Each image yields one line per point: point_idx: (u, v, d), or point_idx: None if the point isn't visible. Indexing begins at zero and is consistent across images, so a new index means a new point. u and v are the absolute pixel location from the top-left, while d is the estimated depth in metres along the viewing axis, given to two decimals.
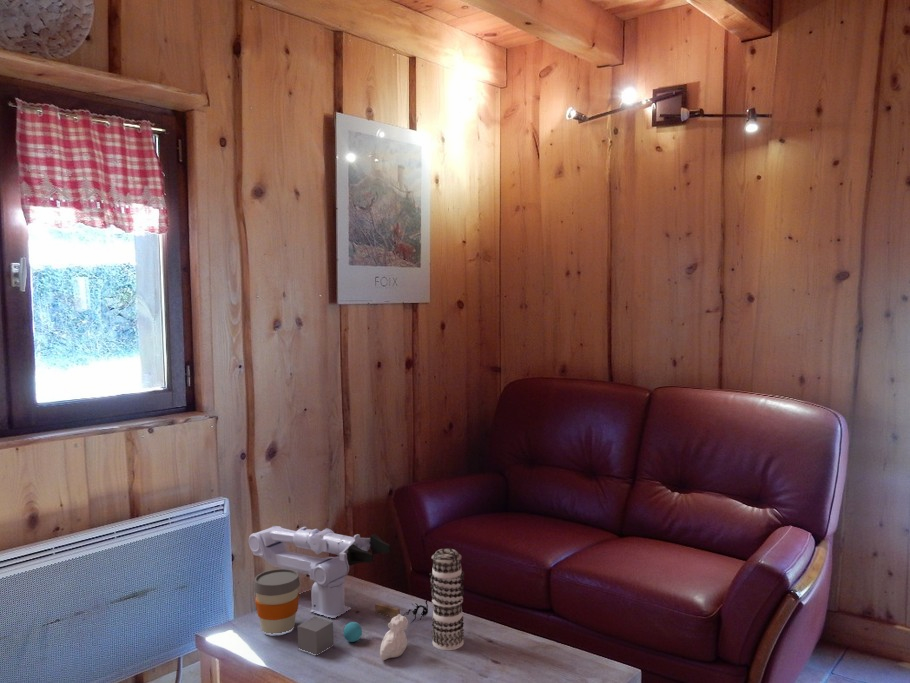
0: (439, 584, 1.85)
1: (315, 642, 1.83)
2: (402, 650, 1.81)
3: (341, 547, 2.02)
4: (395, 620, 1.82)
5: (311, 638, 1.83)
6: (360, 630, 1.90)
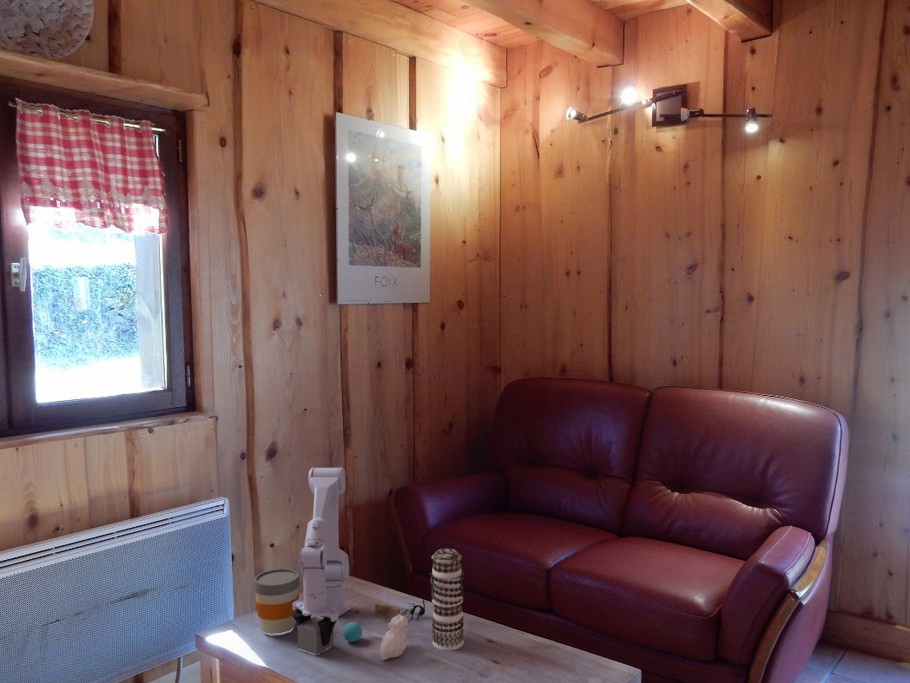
0: (439, 584, 1.85)
1: (315, 642, 1.83)
2: (402, 650, 1.81)
3: None
4: (395, 620, 1.82)
5: (311, 638, 1.83)
6: (360, 630, 1.90)
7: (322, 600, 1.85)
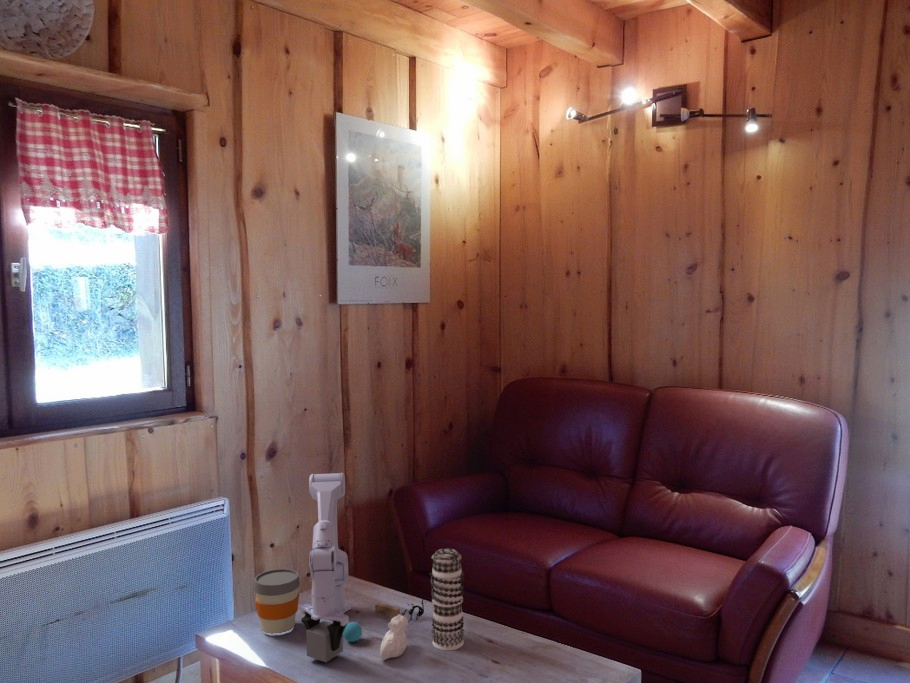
0: (439, 584, 1.85)
1: (324, 647, 1.77)
2: (402, 650, 1.81)
3: None
4: (395, 620, 1.82)
5: (320, 643, 1.78)
6: (360, 630, 1.90)
7: (331, 604, 1.79)
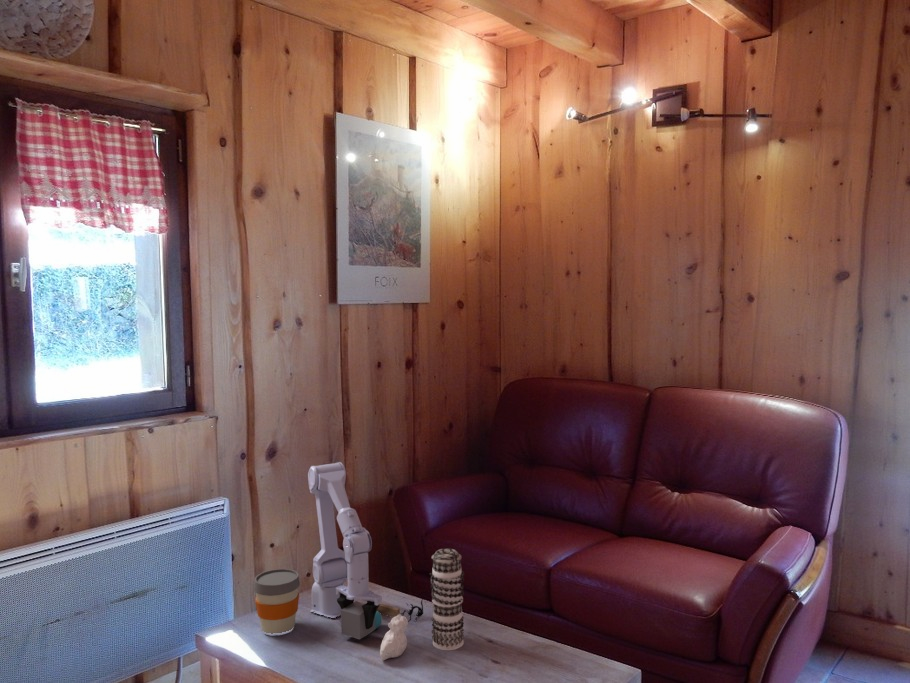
0: (439, 584, 1.85)
1: (358, 625, 1.88)
2: (402, 650, 1.81)
3: None
4: (395, 620, 1.82)
5: (354, 622, 1.89)
6: (377, 624, 1.96)
7: (365, 585, 1.91)
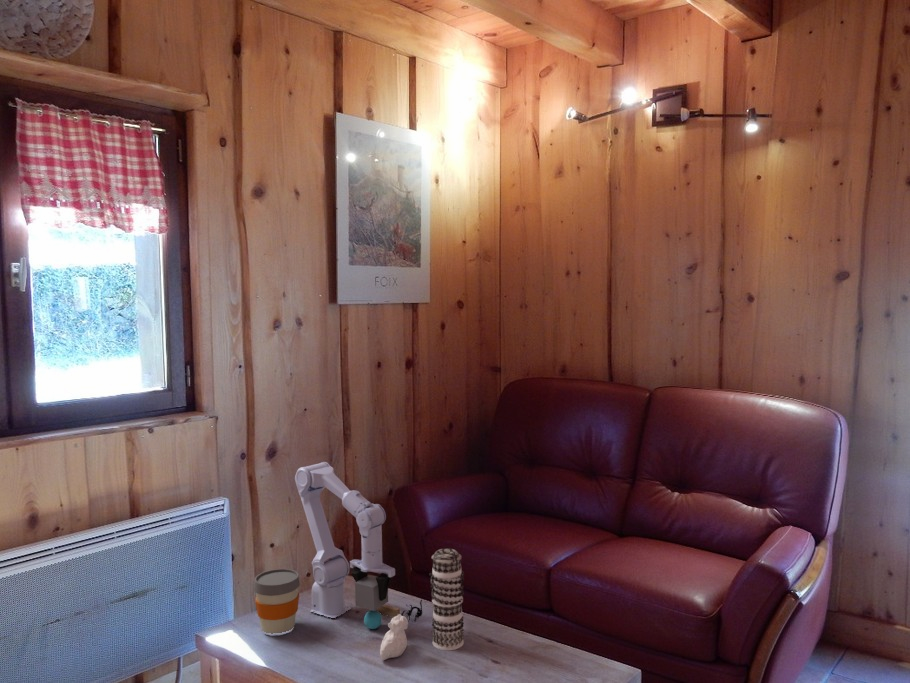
0: (439, 584, 1.85)
1: (372, 597, 1.93)
2: (402, 650, 1.81)
3: None
4: (395, 620, 1.82)
5: (368, 594, 1.94)
6: (377, 624, 1.96)
7: (379, 558, 1.96)
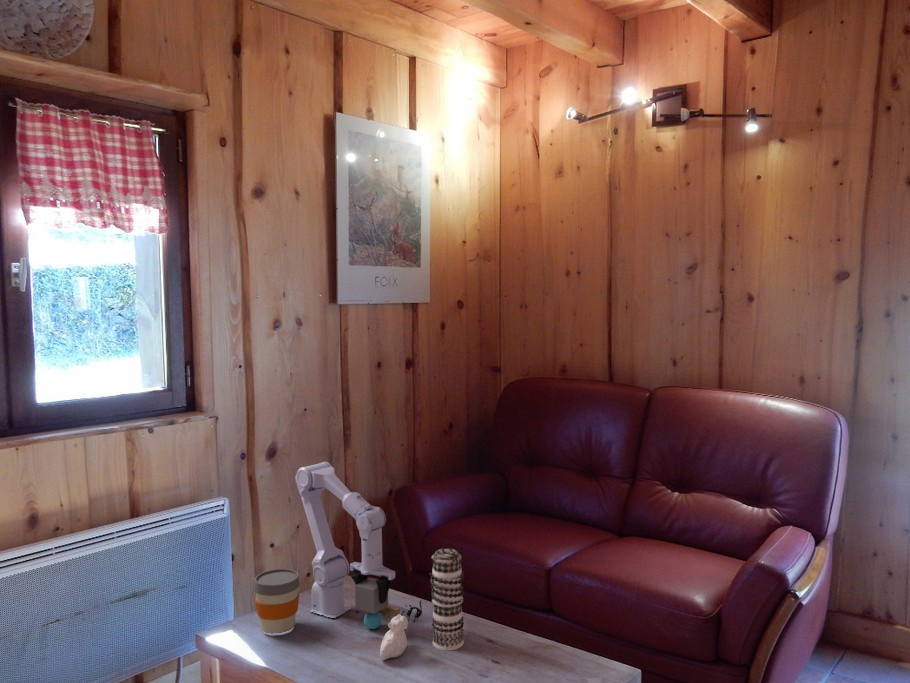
0: (439, 584, 1.85)
1: (372, 600, 1.93)
2: (402, 650, 1.81)
3: None
4: (395, 620, 1.82)
5: (368, 596, 1.94)
6: (377, 624, 1.96)
7: (379, 561, 1.96)
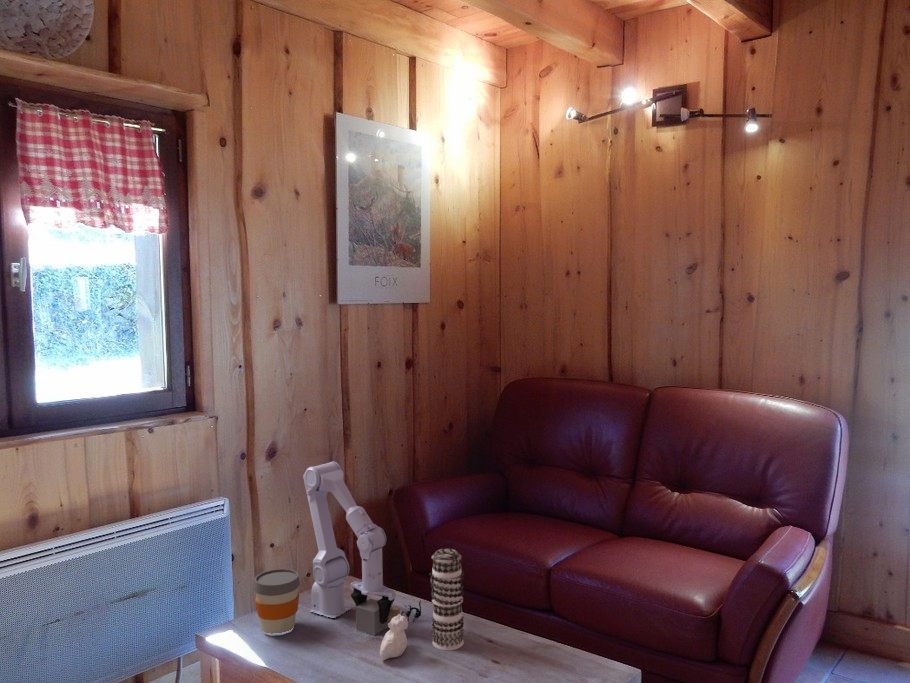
0: (439, 584, 1.85)
1: (373, 622, 1.94)
2: (402, 650, 1.81)
3: None
4: (395, 620, 1.82)
5: (369, 618, 1.94)
6: None
7: (379, 581, 1.96)
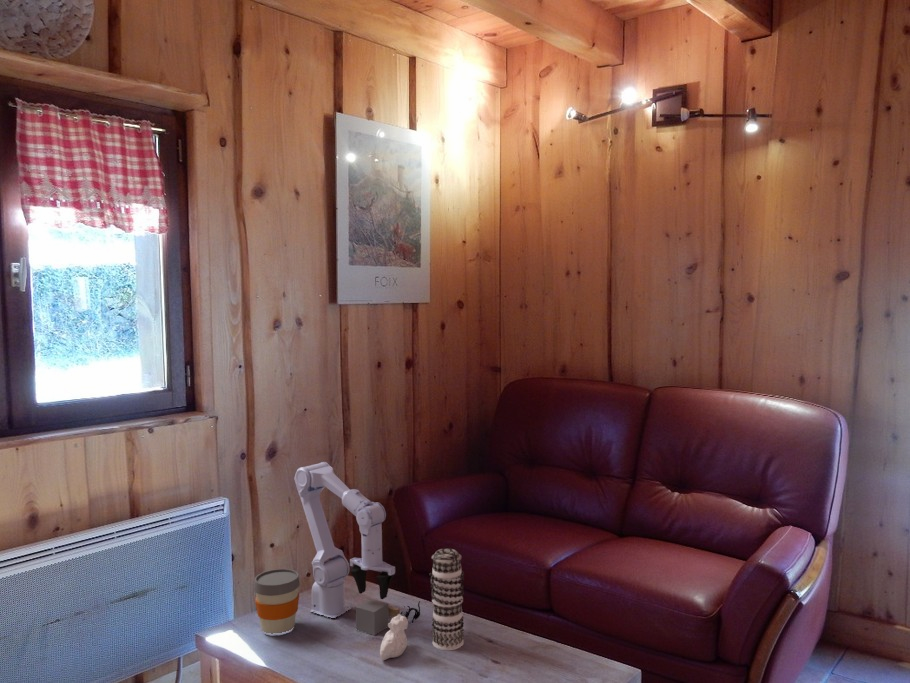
0: (439, 584, 1.85)
1: (373, 622, 1.94)
2: (402, 650, 1.81)
3: None
4: (395, 620, 1.82)
5: (369, 618, 1.94)
6: None
7: (379, 556, 1.96)
